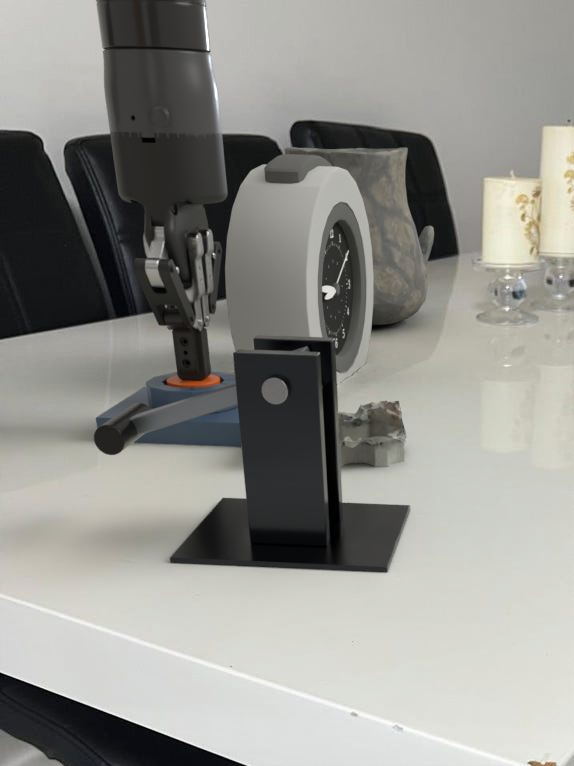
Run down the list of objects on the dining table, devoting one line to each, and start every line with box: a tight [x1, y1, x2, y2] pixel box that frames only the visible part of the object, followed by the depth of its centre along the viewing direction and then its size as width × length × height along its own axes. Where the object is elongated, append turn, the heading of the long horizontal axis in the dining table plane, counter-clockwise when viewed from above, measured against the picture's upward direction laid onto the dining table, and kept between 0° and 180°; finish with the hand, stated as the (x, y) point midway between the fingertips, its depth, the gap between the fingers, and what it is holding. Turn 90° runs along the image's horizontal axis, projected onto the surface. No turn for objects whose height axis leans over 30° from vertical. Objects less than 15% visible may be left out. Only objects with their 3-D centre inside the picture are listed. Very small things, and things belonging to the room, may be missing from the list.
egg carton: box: [338, 400, 408, 468], centre depth 72 cm, size 11×8×4 cm
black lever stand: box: [169, 335, 411, 573], centre depth 56 cm, size 12×10×12 cm
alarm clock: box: [224, 153, 373, 385], centre depth 95 cm, size 21×8×20 cm, turn 170°
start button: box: [167, 374, 220, 388], centre depth 77 cm, size 4×4×2 cm
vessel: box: [283, 146, 435, 326], centre depth 121 cm, size 22×22×20 cm
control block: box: [95, 370, 242, 448], centre depth 78 cm, size 12×10×4 cm
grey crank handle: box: [93, 346, 323, 456], centre depth 55 cm, size 12×5×2 cm, turn 87°
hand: (194, 378), depth 77 cm, fingers closed
